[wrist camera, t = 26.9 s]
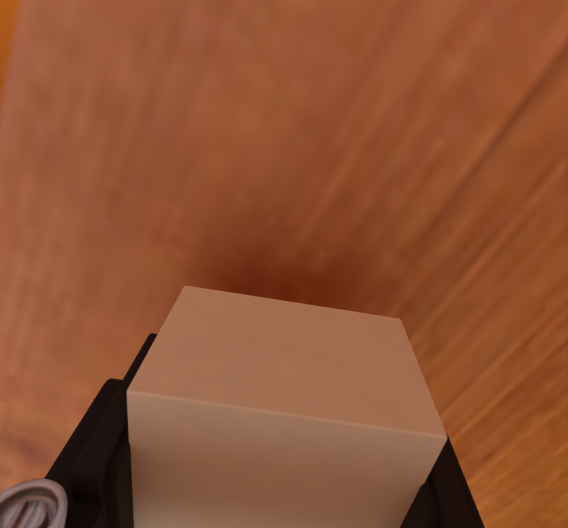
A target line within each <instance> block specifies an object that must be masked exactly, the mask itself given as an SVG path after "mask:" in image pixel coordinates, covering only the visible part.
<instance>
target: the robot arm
mask: <svg viewBox="0 0 568 528" xmlns="http://www.w3.org/2000/svg"><path fill="white" fill-rule="evenodd" d="M157 335H158V334H154V333H151V334H150V335H149V336H148V338H147V339H146V341H145V343H144V344H143V346H142V348H141V350H140V351H139V353H138V355H137V356H136V358H135V360H134V362H133V363H132V365H131V367H130V369H129V370H128V372H127V374H126V375H125V377H124V379H123V380H119V379H111V378H110V379H109V380H107V381H106V383H105V384H104V385H103V387H102V388H101V390H100V391H99V393H98V395H97V396H96V398H95V399H94V401H93V402H92V404H91V406H90V407H89V409H88V410H87V412H86V413H85V415H84V417H83V418H82V420H81V421H80V423H79V425H78V426H77V428H76V429H75V431H74V432H73V434H72V436H71V437H70V439H69V440H68V442H67V444H66V445H65V447H64V448H63V450H62V451H61V453H60V455H59V456H58V458H57V459H56V461H55V462H54V464H53V466H52V467H51V469H50V470H49V472H48V474H47V475H46V477H45V478H44V479H32V480H28V481H25V482H21V483H19V484H17V485H15V486H13V487H11V488H9V489H7V490H5V491H4V492H3V493H1V494H0V528H134V517H133V494H132V472H131V449H130V443H129V433H128V412H127V390H128V388H129V386H130V384H131V382H132V380H133V379H134V377H135V375H136V373H137V371H138V370H139V368H140V366H141V364H142V362H143V360H144V359H145V357H146V355H147V353H148V351H149V349H150V348H151V346H152V344H153V342H154V340H155V338H156V337H157ZM445 432H446V431H445ZM446 434H447V433H446ZM400 528H485V527H484V525H483V522H482V520H481V517H480V515H479V512H478V510H477V507H476V505H475V502H474V500H473V497H472V495H471V492H470V490H469V487H468V485H467V482H466V480H465V477H464V475H463V472H462V470H461V467H460V465H459V462H458V460H457V457H456V455H455V452H454V450H453V447H452V445H451V442H450V440H449V437H448V435H447V441H446V443H445V444H444V446H443V448H442V450H441V452H440V454H439V456H438V458H437V460H436V462H435V464H434V466H433V468H432V470H431V471H430V473H429V475H428V477H427V479H426V481H425V483H424V484H423V485H421V487H420V489H419V491H418V493H417V495H416V497H415V499H414V500H413V502H412V504H411V506H410V508H409V510H408V512H407V514H406V516H405V518H404V520H403V522H402V524H401V526H400Z"/></svg>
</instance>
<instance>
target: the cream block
mask: <svg viewBox="0 0 568 528" xmlns="http://www.w3.org/2000/svg"><path fill="white" fill-rule="evenodd" d="M127 412H128V433H129V443H130V449H131V472H132V494H133V517H134V528H400V526H401V524H402V522H403V520H404V518H405V516H406V514H407V512H408V510H409V508H410V506H411V504H412V502H413V500H414V499H415V497H416V495H417V493H418V491H419V489H420V487H421V485H423V484H424V483H425V481H426V479H427V477H428V475H429V473H430V471H431V470H432V468H433V466H434V464H435V462H436V460H437V458H438V456H439V454H440V452H441V450H442V448H443V446H444V444H445V443H446V441H447V434H446V432H445V429H444V427H443V424H442V422H441V419H440V417H439V414H438V412H437V409H436V407H435V404H434V402H433V399H432V397H431V394H430V392H429V389H428V387H427V384H426V382H425V379H424V377H423V374H422V372H421V369H420V367H419V364H418V362H417V359H416V356H415V354H414V351H413V349H412V346H411V344H410V341H409V339H408V336H407V334H406V331H405V329H404V326H403V324H402V321H401V319H399V318H393V317H387V316H380V315H374V314H367V313H361V312H354V311H348V310H341V309H335V308H328V307H322V306H315V305H309V304H303V303H296V302H290V301H283V300H277V299H270V298H264V297H257V296H251V295H244V294H238V293H231V292H225V291H218V290H212V289H205V288H199V287H192V286H184V287H183V289H182V291H181V293H180V295H179V296H178V298H177V300H176V302H175V304H174V306H173V307H172V309H171V311H170V313H169V315H168V317H167V318H166V320H165V322H164V324H163V326H162V328H161V329H160V331H159V333H158V335H157V337H156V338H155V340H154V342H153V344H152V346H151V348H150V349H149V351H148V353H147V355H146V357H145V359H144V360H143V362H142V364H141V366H140V368H139V370H138V371H137V373H136V375H135V377H134V379H133V380H132V382H131V384H130V386H129V388H128V390H127Z"/></svg>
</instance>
